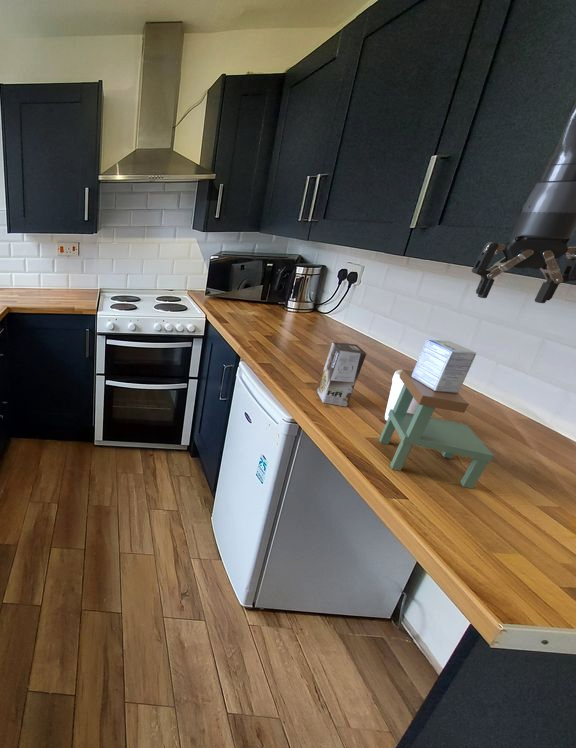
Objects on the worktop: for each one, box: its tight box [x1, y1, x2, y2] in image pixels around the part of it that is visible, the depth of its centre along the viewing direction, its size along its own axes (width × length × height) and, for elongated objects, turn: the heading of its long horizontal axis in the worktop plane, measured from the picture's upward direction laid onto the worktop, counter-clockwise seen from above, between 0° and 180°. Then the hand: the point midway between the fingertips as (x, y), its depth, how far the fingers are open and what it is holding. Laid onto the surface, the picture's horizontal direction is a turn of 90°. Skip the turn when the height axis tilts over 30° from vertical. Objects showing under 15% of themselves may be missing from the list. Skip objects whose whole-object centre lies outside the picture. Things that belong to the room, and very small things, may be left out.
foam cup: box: [384, 369, 419, 422], centre depth 104 cm, size 10×9×13 cm
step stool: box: [378, 369, 495, 490], centre depth 86 cm, size 14×16×18 cm
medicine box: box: [412, 339, 477, 393], centre depth 81 cm, size 8×4×9 cm, turn 170°
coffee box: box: [316, 341, 367, 408], centre depth 115 cm, size 9×6×16 cm
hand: (510, 299), depth 79 cm, fingers open, 8 cm apart
